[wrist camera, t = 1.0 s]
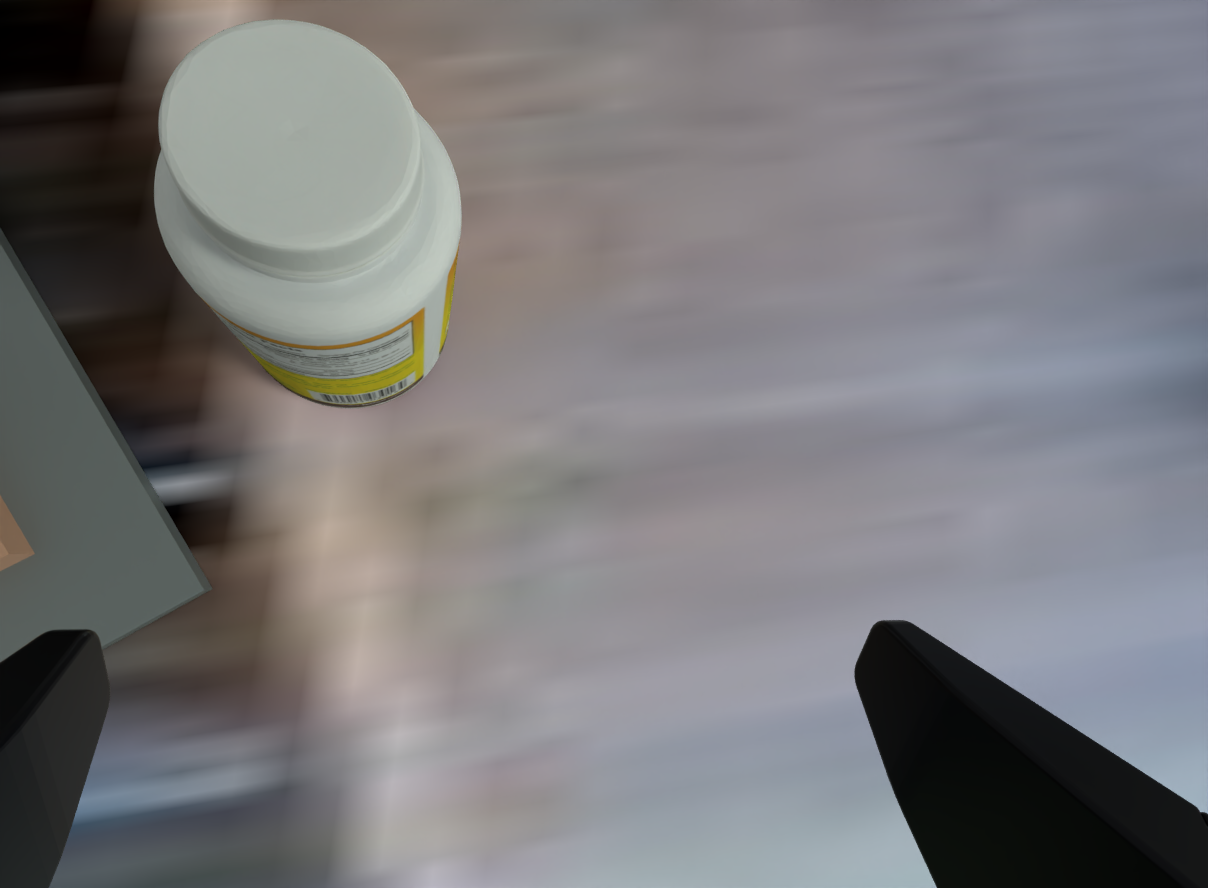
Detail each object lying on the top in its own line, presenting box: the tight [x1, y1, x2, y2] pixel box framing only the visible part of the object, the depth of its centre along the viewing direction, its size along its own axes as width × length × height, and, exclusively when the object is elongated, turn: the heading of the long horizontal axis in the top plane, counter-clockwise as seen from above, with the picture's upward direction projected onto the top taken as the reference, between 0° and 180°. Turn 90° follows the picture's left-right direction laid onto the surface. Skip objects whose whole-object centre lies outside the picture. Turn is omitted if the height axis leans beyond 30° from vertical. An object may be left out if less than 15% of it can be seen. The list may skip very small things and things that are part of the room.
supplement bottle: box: [154, 20, 462, 408], centre depth 17 cm, size 6×6×10 cm
